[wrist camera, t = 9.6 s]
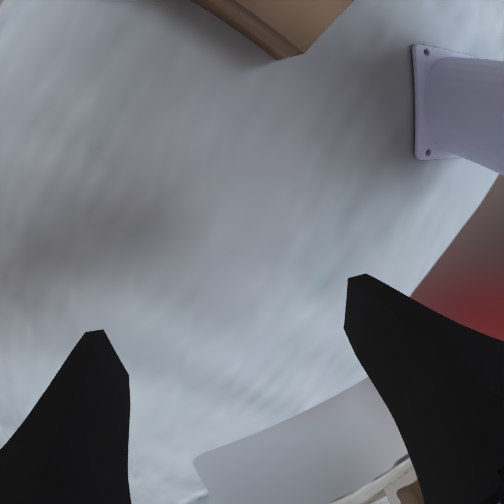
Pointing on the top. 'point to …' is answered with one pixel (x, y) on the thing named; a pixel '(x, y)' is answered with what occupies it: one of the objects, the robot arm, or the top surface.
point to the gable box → (405, 490)
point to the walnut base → (278, 21)
